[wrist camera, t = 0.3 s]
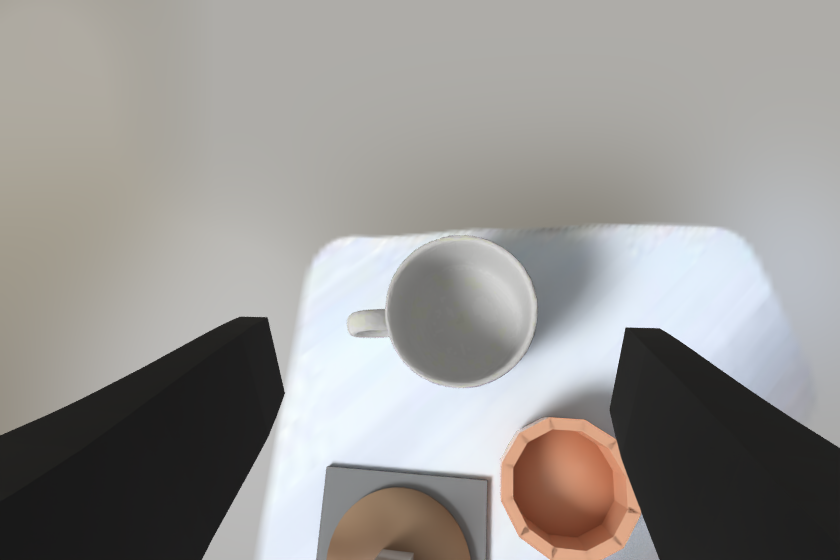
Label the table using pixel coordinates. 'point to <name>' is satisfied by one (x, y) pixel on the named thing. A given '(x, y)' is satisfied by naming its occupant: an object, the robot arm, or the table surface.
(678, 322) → the table surface
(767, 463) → the robot arm
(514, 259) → the teacup
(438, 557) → the lid
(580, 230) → the table surface
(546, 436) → the bowl
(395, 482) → the mat
